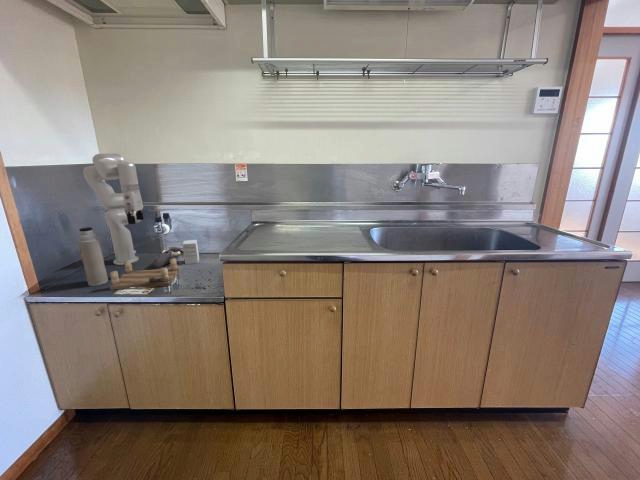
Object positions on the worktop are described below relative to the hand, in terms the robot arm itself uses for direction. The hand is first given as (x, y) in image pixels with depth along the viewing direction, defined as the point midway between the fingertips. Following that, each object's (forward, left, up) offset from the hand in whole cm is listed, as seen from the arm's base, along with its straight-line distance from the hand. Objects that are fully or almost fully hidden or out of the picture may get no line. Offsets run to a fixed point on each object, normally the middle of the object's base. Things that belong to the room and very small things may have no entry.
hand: (136, 221), depth 146 cm
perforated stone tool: (-11, +6, -29) cm, 31 cm away
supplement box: (-13, +21, -28) cm, 38 cm away
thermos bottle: (+10, -18, -28) cm, 35 cm away
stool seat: (+11, +5, -28) cm, 31 cm away
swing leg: (+18, +13, -26) cm, 34 cm away
